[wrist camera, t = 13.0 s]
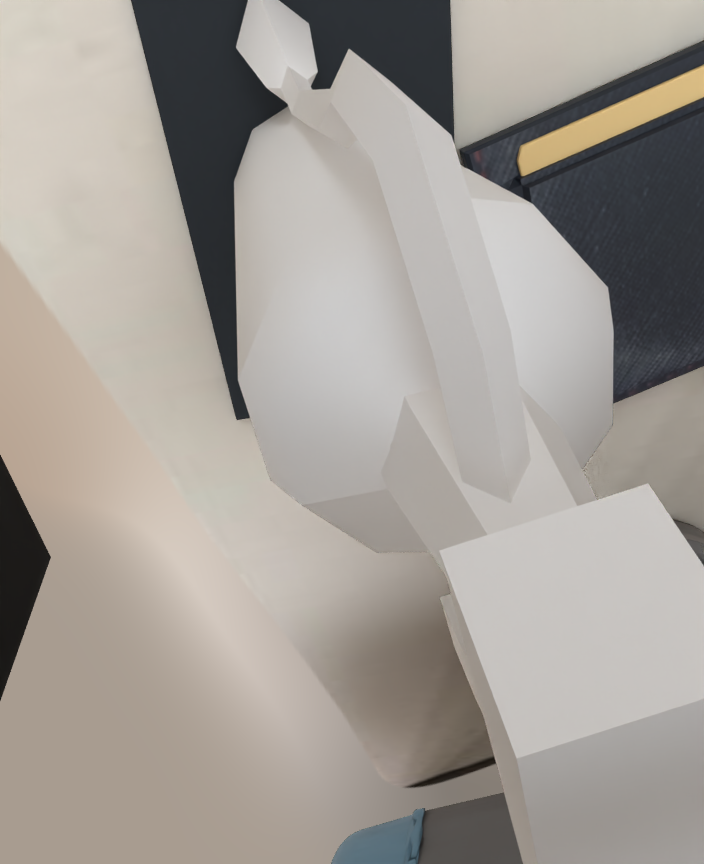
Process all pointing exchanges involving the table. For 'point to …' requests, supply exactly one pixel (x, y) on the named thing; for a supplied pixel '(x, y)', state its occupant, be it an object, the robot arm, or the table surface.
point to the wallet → (624, 205)
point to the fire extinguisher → (470, 444)
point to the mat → (267, 107)
